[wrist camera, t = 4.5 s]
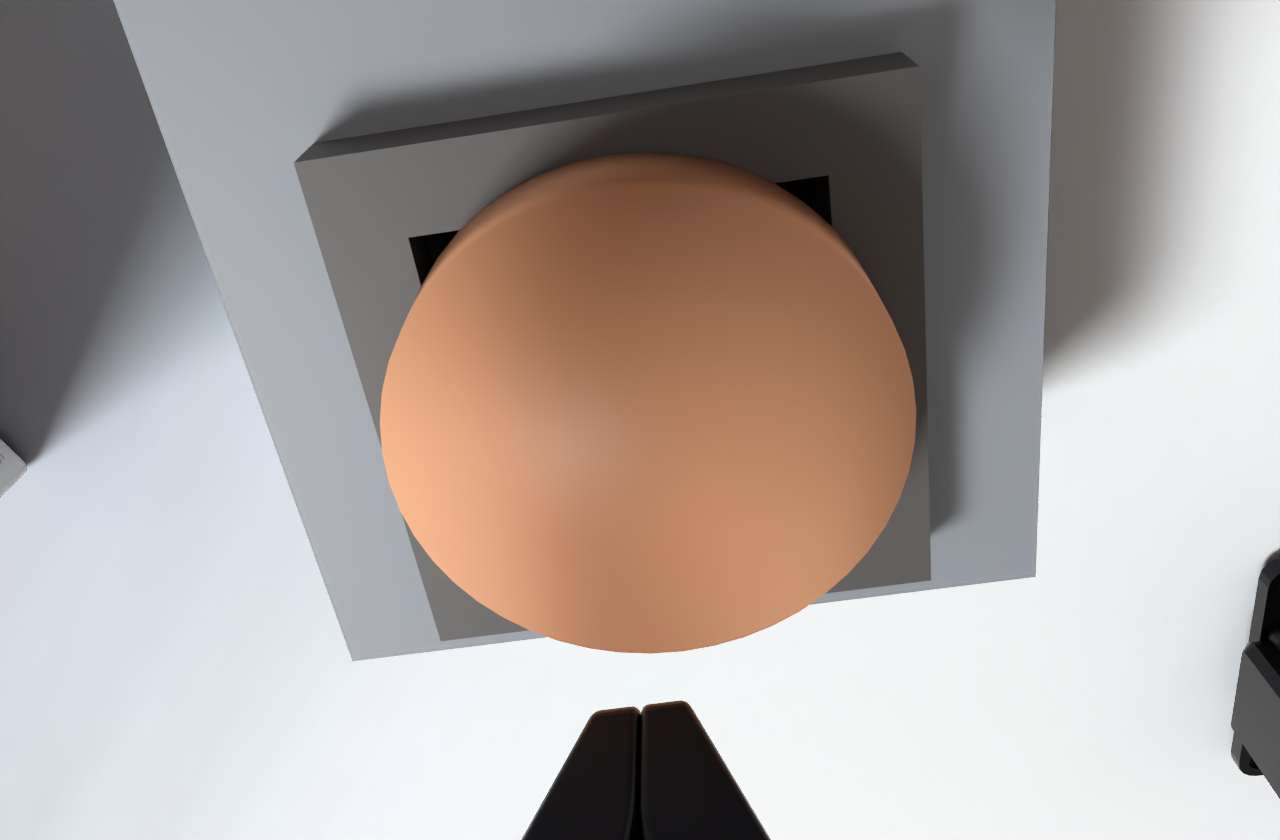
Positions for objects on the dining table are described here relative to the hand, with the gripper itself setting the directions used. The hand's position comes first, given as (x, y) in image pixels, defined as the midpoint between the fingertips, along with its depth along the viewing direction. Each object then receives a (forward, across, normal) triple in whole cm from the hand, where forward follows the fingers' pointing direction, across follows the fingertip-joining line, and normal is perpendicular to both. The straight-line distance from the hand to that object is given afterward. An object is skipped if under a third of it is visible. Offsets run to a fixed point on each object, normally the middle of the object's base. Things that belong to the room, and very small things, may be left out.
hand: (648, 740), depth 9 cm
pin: (+12, 0, 0) cm, 12 cm away
